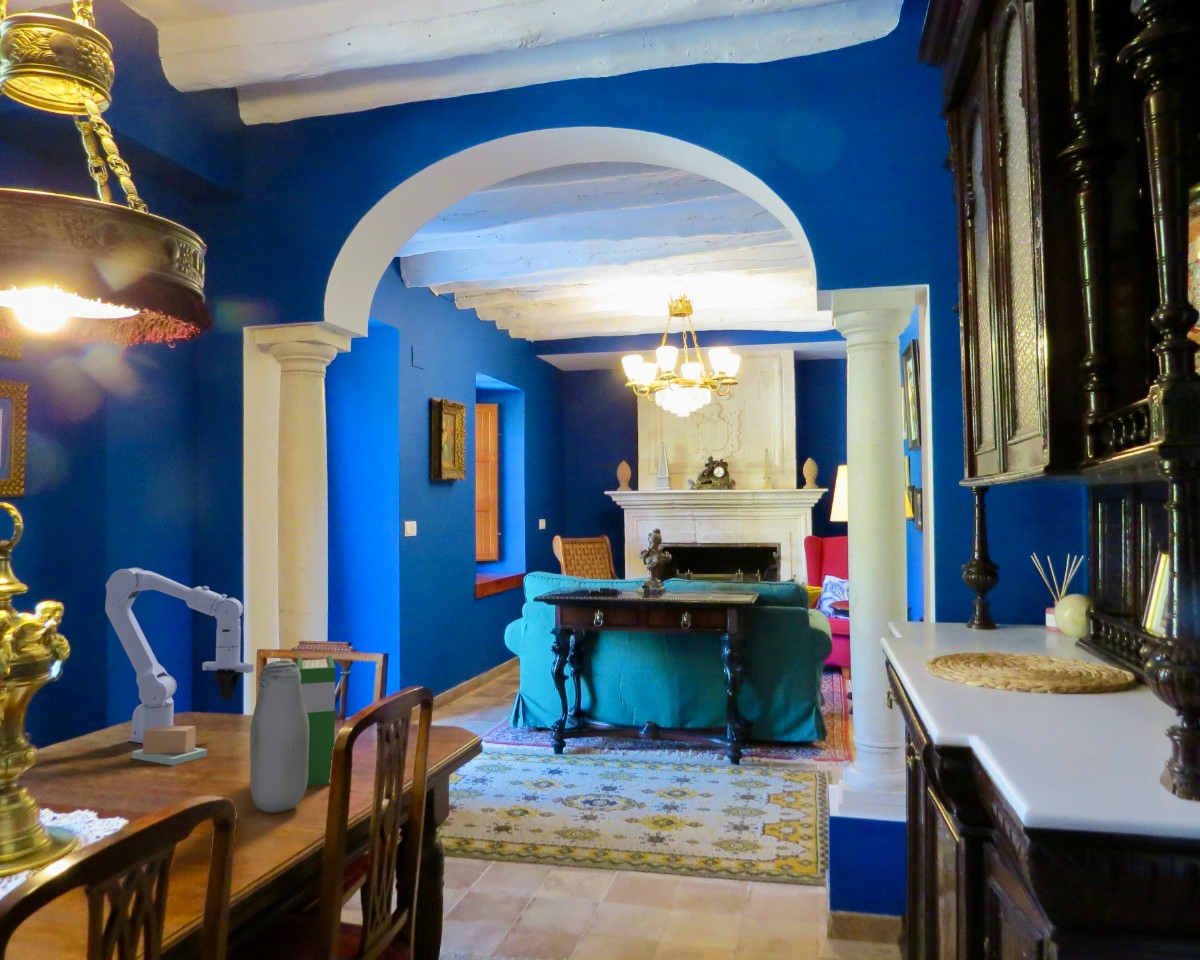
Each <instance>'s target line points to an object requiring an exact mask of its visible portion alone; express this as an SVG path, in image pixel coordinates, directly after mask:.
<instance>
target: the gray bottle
mask: <svg viewBox="0 0 1200 960" xmlns="http://www.w3.org/2000/svg"><path fill="white" fill-rule="evenodd" d="M249 751H250V753H249V754H250V767H249V768H250V770H249V771H250V776H249V777H250V781H249V783H250V784H249V785H250V793H251V796H252V799H253V803H254V804H255V806H256V807H257V808H258V809H259V810H261V811H262V812H265V813H267V814H268V813H271V814H272V813H274V814H275V813H282V812H286V811H288V810H291V809H294V808H295V807H296V806H298V805H299V803H300V802H301V801H302V800H303V798H304V797H305V793H306V792H307V787H308V786H307V782H308V757H309V719H308V714H307V710H306V707H305V704H304V700H303V694H302V689H301V673H300V670H299V667H298V663H295V662H293V661H292V660H291V661H290V660H275V661H271V662H269V663H267V664H266V665H264V667H262V669H261V670H260V673H259V678H258V693H257V701H256V702H255V707H254V710H253V715H252V719H251V723H250V731H249Z"/></svg>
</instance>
